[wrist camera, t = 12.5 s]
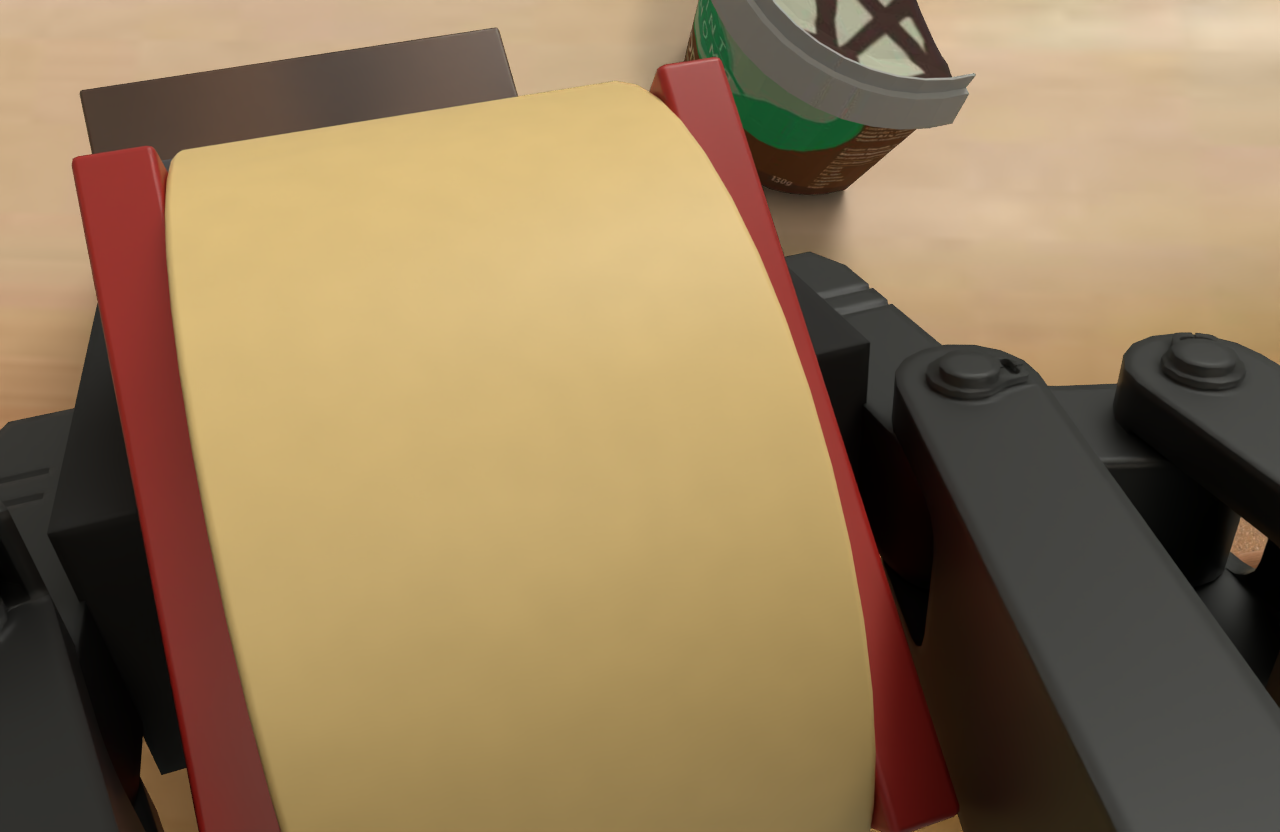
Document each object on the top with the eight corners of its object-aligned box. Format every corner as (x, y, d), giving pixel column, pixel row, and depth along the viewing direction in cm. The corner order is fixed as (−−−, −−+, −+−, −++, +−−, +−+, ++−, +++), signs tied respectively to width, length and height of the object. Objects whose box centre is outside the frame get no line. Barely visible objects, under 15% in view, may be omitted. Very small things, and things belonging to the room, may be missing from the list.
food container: (606, -11, 43) (654, -209, 33) (743, -43, 44) (827, -241, 35) (720, 266, 41) (806, 141, 31) (860, 222, 42) (983, 90, 33)
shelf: (487, 149, 40) (498, 25, 33) (618, 617, 37) (664, 602, 29) (151, 209, 37) (77, 89, 30) (261, 721, 34) (211, 734, 27)
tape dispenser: (561, 242, 17) (693, -230, 8) (721, 813, 16) (1100, 999, 7) (232, 306, 16) (-34, -164, 7) (366, 931, 15) (242, 1353, 5)
